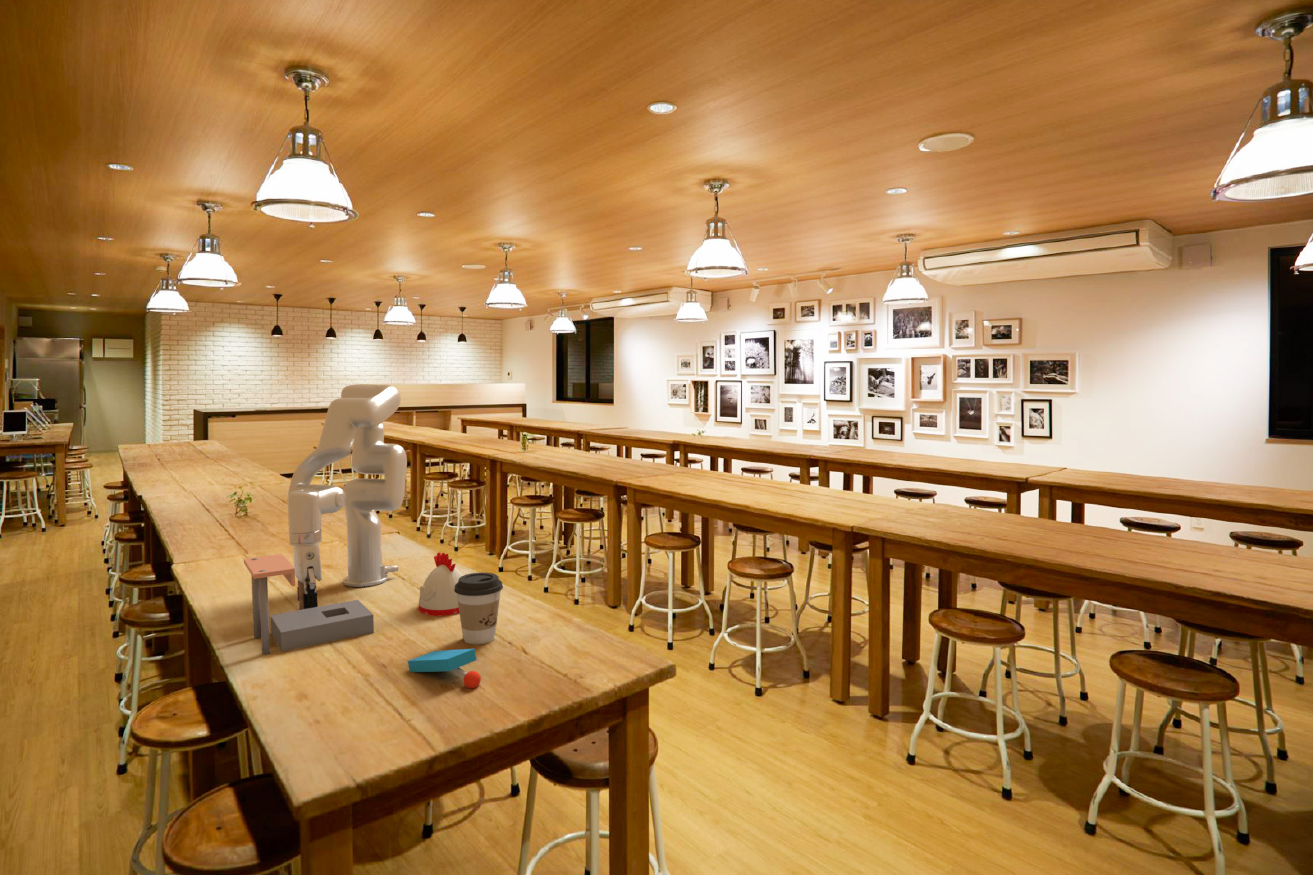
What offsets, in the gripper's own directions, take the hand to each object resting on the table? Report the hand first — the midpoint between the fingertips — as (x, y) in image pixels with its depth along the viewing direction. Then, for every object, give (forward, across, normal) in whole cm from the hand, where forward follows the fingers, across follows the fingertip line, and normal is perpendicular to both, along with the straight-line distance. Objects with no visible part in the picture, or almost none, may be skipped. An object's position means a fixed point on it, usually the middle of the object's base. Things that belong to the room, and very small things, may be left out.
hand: (307, 603), depth 179 cm
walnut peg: (+3, 0, 0) cm, 3 cm away
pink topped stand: (+3, -17, +11) cm, 20 cm away
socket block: (+3, -17, 0) cm, 17 cm away
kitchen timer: (+3, -16, -31) cm, 35 cm away
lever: (+3, -58, -16) cm, 61 cm away
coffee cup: (+3, -43, -29) cm, 52 cm away
